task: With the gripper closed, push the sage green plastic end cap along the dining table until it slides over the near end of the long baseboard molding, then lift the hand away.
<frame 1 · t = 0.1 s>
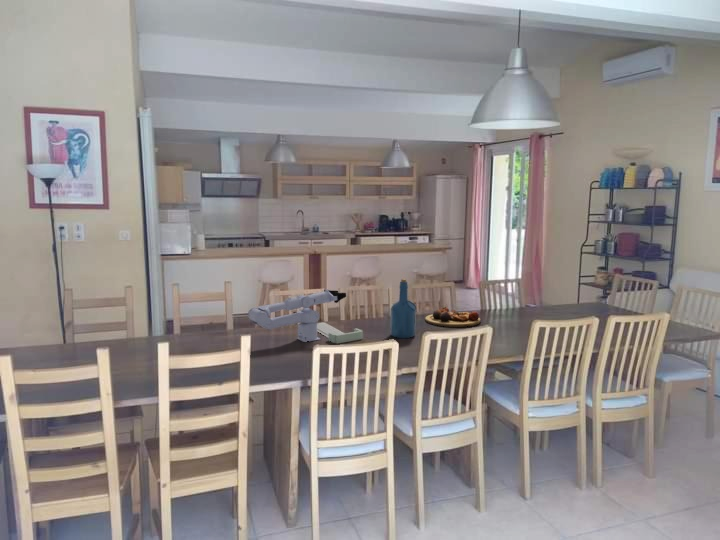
hand: (341, 293, 281), 22 cm above the table, tool horizontal, fingers open, 7 cm apart
baseboard molding: (325, 332, 290), on the table
wooden plate with food: (452, 322, 314), on the table
end cap: (346, 339, 273), on the table
wine bottle: (403, 336, 281), on the table
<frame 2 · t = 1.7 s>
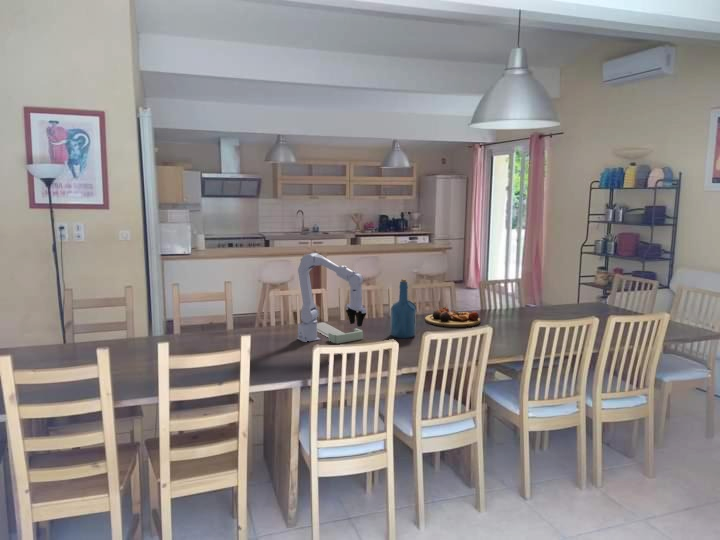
hand: (355, 324, 265), 9 cm above the table, tool pointing down, fingers open, 6 cm apart
nothing on the table moved.
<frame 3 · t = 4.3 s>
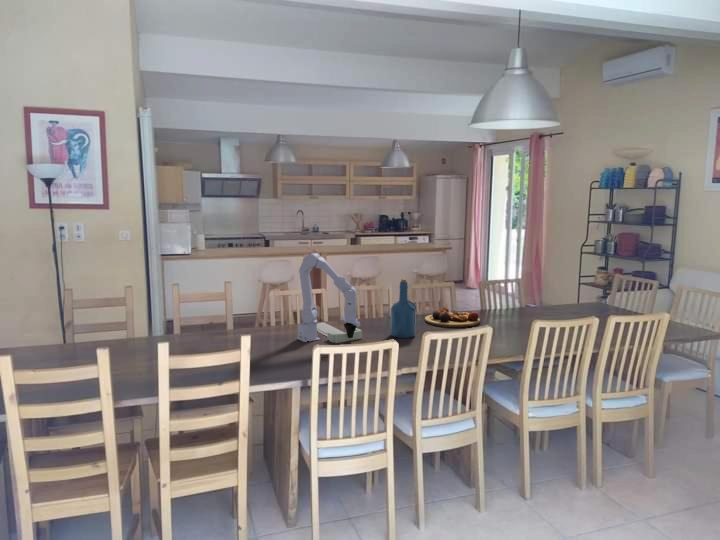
hand: (350, 337, 270), 2 cm above the table, tool pointing down, fingers closed
end cap: (345, 339, 274), on the table, touching gripper
everything else where it was.
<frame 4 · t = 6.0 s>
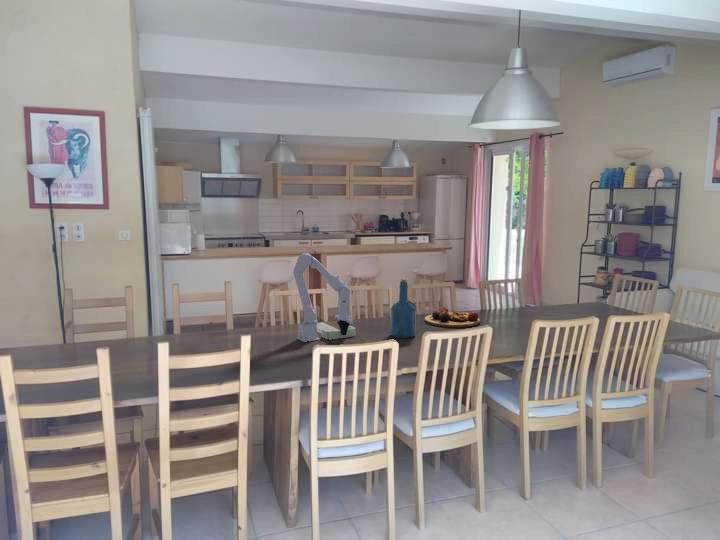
hand: (343, 334, 275), 2 cm above the table, tool pointing down, fingers closed
end cap: (339, 336, 279), on the table, touching gripper
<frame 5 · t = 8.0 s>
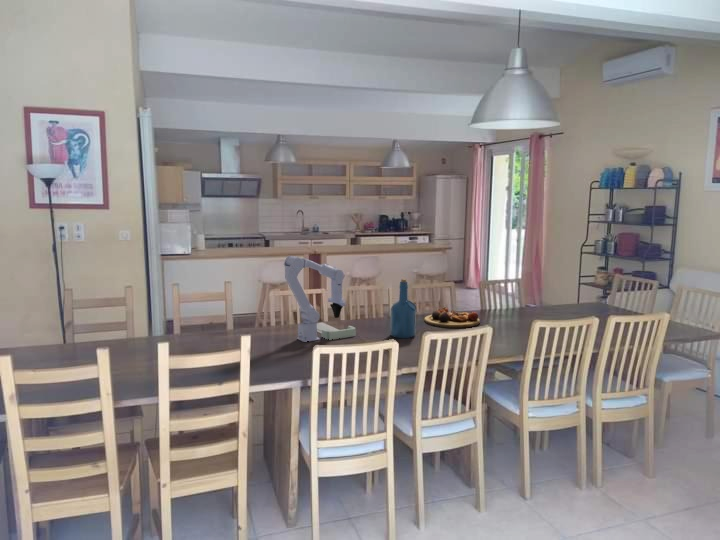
hand: (336, 317, 281), 9 cm above the table, tool pointing down, fingers closed
end cap: (339, 336, 279), on the table
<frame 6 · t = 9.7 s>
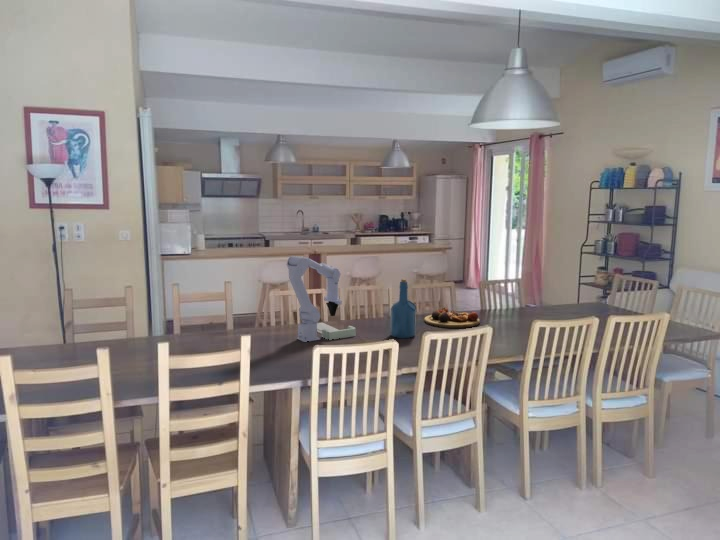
hand: (332, 315, 285), 9 cm above the table, tool pointing down, fingers closed
at the end: end cap 0.9 cm from the target spot in the baseboard molding, point 0.8 cm above the baseboard molding's base; end cap moved 7.2 cm from its start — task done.
